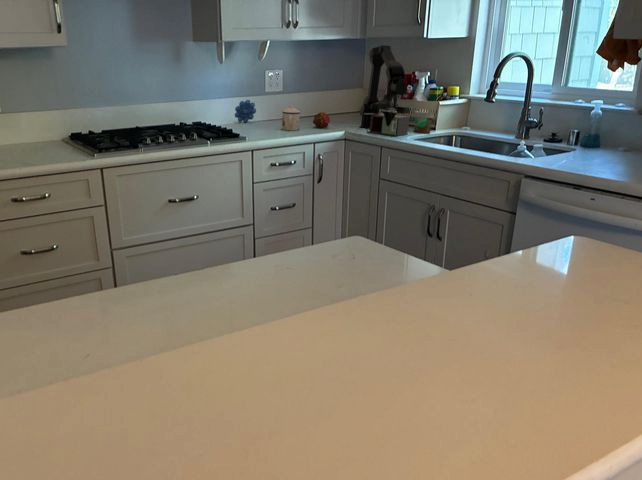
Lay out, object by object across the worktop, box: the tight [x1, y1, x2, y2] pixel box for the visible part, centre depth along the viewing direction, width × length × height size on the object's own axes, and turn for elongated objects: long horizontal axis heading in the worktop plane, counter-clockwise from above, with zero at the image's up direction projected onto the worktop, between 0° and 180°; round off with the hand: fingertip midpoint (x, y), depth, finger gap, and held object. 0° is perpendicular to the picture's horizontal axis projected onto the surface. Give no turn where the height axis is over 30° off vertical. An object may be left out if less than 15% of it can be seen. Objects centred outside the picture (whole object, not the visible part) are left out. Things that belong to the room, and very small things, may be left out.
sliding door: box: [381, 117, 397, 135], centre depth 301 cm, size 8×3×8 cm, turn 46°
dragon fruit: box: [312, 111, 331, 129], centre depth 322 cm, size 8×8×12 cm
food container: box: [413, 110, 435, 135], centre depth 314 cm, size 12×6×10 cm, turn 25°
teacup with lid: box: [281, 105, 301, 132], centre depth 311 cm, size 12×9×12 cm
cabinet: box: [366, 112, 410, 138], centre depth 308 cm, size 16×12×9 cm
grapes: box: [234, 99, 257, 124], centre depth 331 cm, size 12×7×12 cm, turn 84°
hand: (387, 126), depth 300 cm, fingers closed
